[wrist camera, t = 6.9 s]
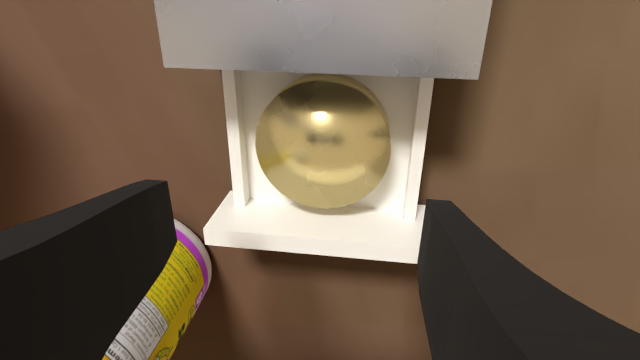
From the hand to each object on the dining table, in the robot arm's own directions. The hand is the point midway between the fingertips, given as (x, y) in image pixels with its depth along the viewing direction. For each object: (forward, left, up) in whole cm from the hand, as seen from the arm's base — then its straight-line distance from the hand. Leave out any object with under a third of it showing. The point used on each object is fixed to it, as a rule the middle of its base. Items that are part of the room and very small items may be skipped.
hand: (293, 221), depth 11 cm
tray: (0, +1, -8) cm, 8 cm away
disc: (0, 0, -7) cm, 7 cm away
